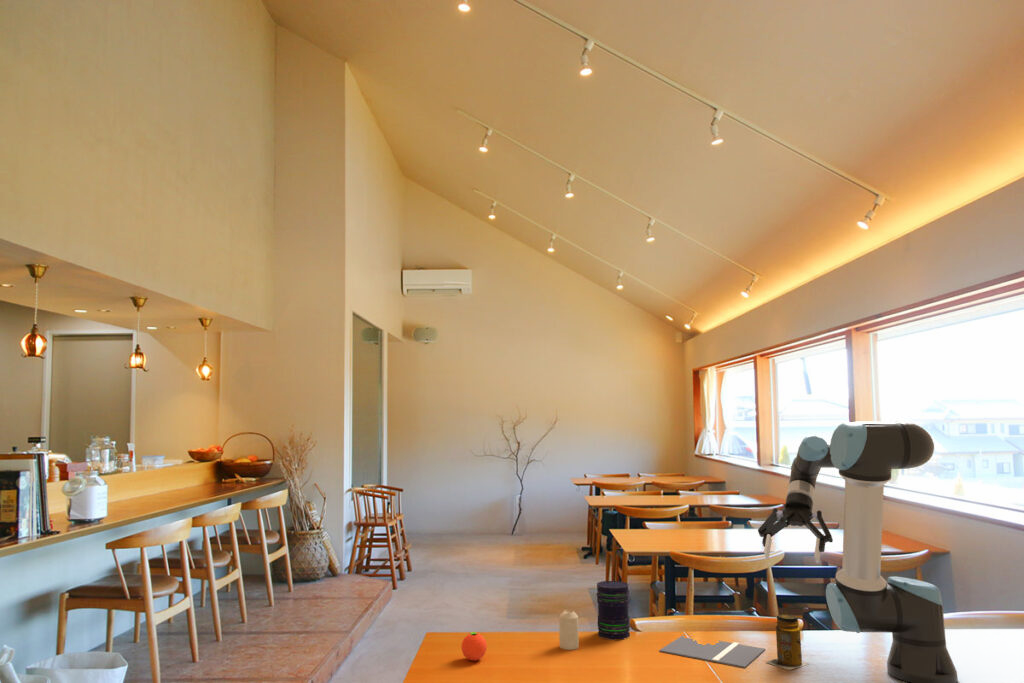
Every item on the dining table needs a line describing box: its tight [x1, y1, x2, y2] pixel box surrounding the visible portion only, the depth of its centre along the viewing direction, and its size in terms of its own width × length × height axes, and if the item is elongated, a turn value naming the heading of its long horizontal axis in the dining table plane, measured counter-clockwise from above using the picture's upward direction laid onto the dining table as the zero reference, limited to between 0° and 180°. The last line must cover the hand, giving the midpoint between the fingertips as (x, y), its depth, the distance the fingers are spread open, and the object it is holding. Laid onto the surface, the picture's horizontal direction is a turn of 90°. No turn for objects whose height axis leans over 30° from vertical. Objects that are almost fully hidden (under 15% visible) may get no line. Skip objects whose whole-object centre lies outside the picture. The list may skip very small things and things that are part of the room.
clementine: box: [461, 631, 488, 662], centre depth 185 cm, size 8×7×7 cm
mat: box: [658, 635, 766, 669], centre depth 190 cm, size 24×18×1 cm
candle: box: [558, 609, 580, 651], centre depth 195 cm, size 6×6×10 cm
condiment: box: [765, 613, 810, 671], centre depth 180 cm, size 7×8×12 cm
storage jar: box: [596, 580, 631, 641], centre depth 207 cm, size 10×10×15 cm
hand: (790, 557), depth 191 cm, fingers open, 13 cm apart
